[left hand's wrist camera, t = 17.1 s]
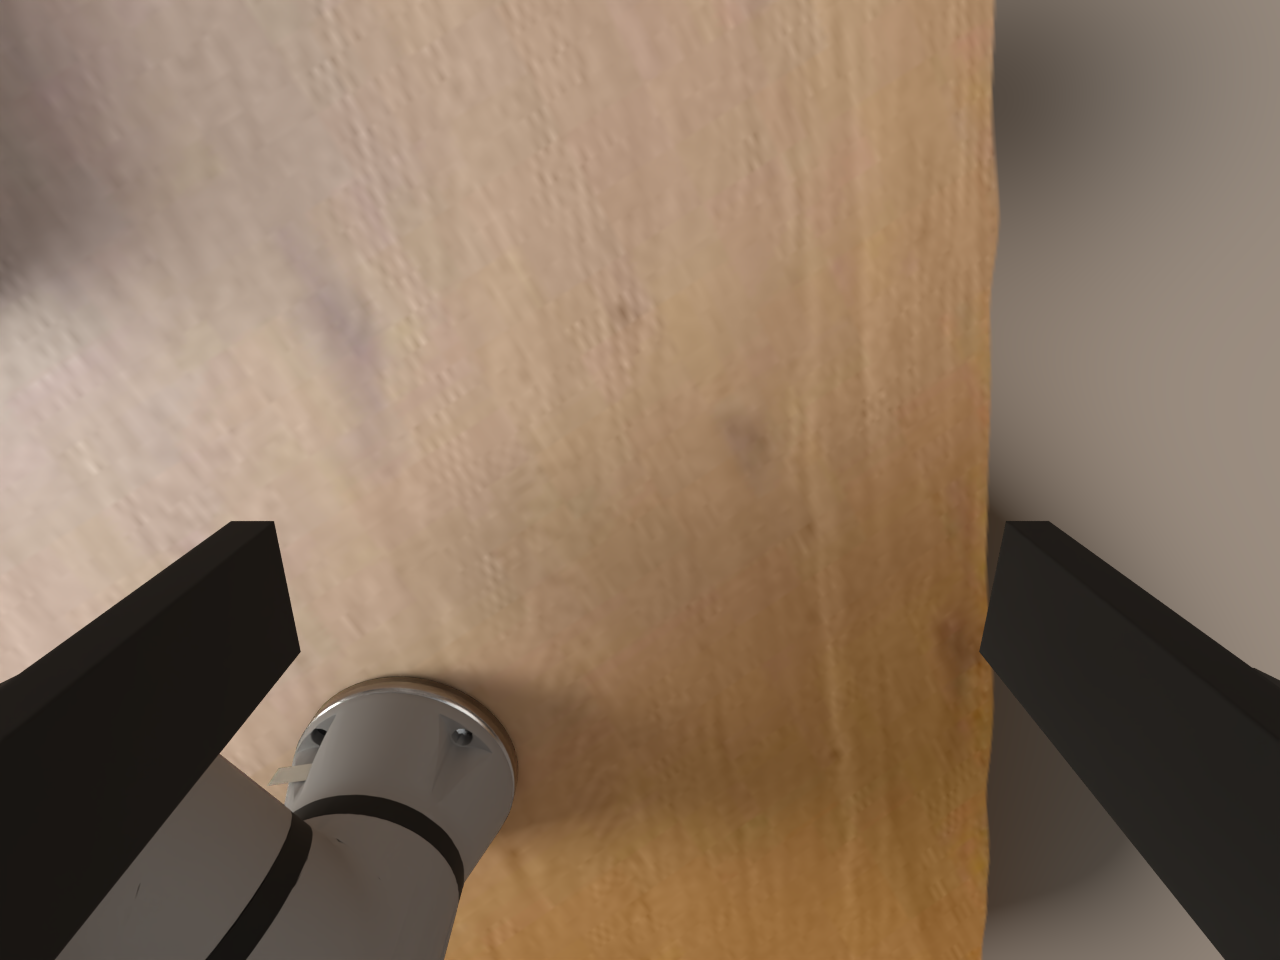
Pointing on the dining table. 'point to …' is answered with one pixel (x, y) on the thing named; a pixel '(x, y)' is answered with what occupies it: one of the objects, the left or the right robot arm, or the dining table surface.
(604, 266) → the dining table surface
